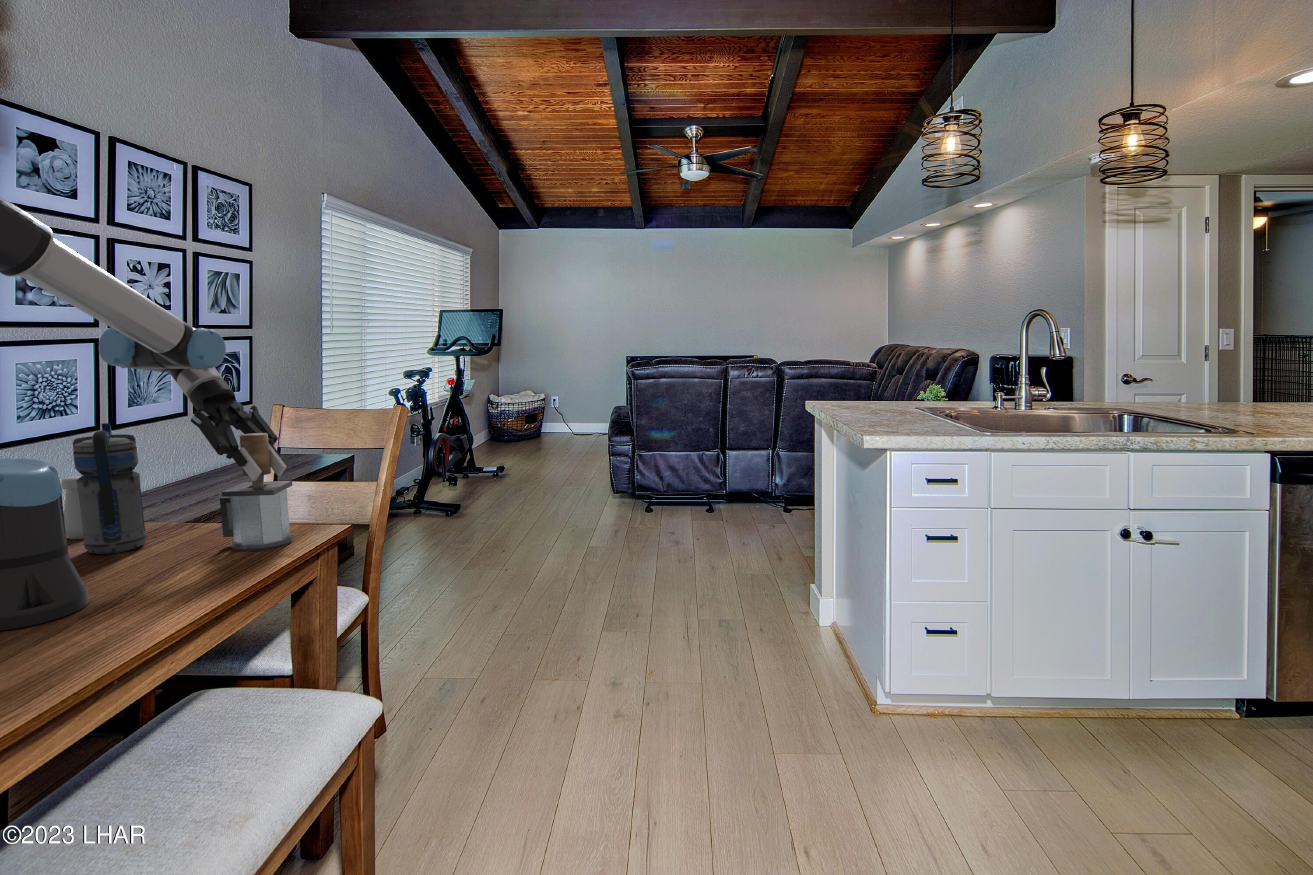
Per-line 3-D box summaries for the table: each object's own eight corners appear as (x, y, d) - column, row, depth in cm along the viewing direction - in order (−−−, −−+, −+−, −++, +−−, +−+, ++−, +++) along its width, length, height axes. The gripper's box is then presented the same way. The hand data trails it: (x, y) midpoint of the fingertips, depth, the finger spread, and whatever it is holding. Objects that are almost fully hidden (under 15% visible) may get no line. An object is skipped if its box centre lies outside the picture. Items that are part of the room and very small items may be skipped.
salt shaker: (83, 532, 161) (76, 474, 159) (104, 533, 159) (98, 474, 158) (56, 539, 155) (49, 479, 153) (78, 540, 154) (71, 480, 152)
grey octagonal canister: (213, 552, 144) (208, 492, 142) (239, 537, 154) (234, 482, 153) (280, 550, 145) (275, 490, 143) (301, 535, 156) (296, 480, 154)
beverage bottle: (79, 562, 139) (63, 431, 135) (89, 545, 150) (75, 424, 147) (144, 553, 144) (130, 427, 140) (149, 538, 155) (136, 421, 152)
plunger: (241, 516, 146) (234, 436, 144) (252, 510, 151) (246, 433, 149) (268, 515, 147) (261, 435, 145) (278, 509, 152) (271, 432, 149)
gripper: (170, 379, 141) (236, 469, 137) (254, 375, 157) (315, 454, 153) (155, 406, 144) (219, 494, 140) (239, 399, 160) (299, 478, 156)
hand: (269, 473), depth 146 cm, fingers closed on plunger, 5 cm apart
